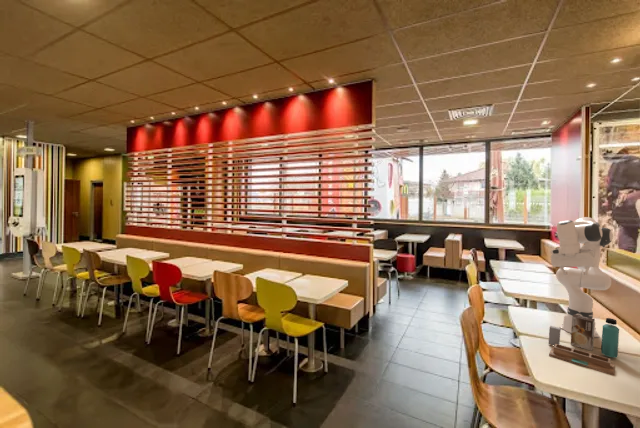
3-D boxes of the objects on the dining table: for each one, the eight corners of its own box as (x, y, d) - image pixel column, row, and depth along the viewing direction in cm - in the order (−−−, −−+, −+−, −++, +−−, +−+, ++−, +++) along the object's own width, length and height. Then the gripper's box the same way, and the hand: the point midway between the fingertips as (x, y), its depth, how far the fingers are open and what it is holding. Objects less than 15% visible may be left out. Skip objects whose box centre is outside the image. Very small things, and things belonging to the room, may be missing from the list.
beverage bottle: (621, 361, 154) (624, 322, 153) (605, 359, 156) (608, 320, 155) (611, 355, 161) (614, 317, 160) (596, 353, 162) (599, 316, 161)
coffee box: (593, 347, 169) (595, 318, 168) (591, 351, 165) (593, 321, 164) (572, 341, 176) (574, 313, 175) (569, 344, 171) (571, 316, 171)
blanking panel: (549, 343, 172) (550, 325, 172) (559, 346, 169) (560, 328, 169) (548, 344, 170) (549, 327, 170) (558, 347, 167) (559, 329, 167)
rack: (552, 348, 166) (553, 340, 166) (613, 365, 150) (614, 357, 149) (548, 356, 157) (549, 348, 157) (613, 375, 140) (614, 367, 140)
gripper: (596, 248, 164) (602, 274, 162) (553, 249, 182) (557, 273, 180) (590, 249, 161) (596, 276, 159) (547, 251, 179) (552, 275, 177)
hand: (575, 274), depth 170 cm, fingers open, 8 cm apart
